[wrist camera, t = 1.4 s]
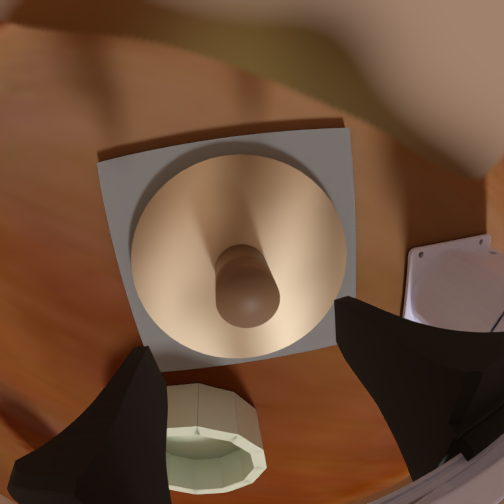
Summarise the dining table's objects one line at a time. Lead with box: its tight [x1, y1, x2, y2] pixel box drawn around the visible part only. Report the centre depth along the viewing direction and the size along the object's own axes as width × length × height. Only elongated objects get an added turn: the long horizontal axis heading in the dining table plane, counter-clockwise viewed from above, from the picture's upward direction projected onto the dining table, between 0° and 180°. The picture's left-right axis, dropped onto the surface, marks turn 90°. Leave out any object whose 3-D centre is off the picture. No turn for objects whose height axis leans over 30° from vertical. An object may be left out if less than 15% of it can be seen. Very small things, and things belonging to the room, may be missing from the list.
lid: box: [131, 154, 347, 358], centre depth 17 cm, size 13×13×5 cm
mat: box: [97, 128, 356, 372], centre depth 19 cm, size 15×15×1 cm
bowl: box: [166, 383, 267, 494], centre depth 22 cm, size 11×11×4 cm
